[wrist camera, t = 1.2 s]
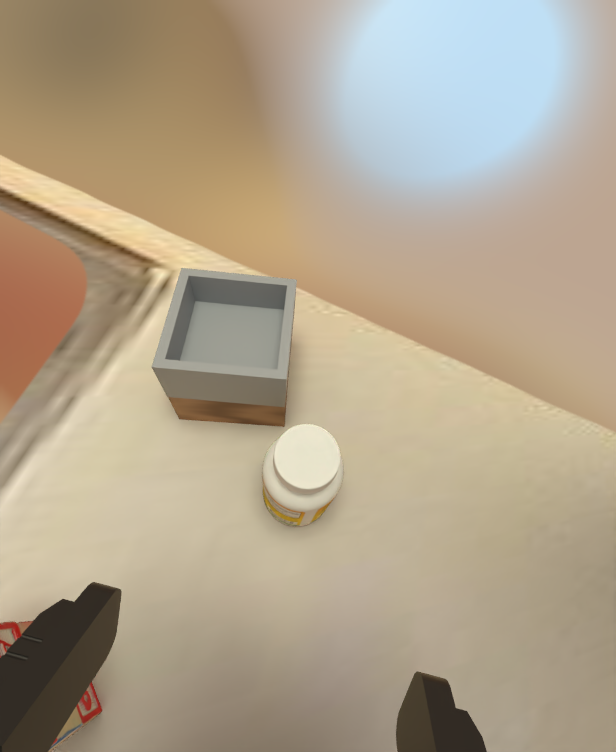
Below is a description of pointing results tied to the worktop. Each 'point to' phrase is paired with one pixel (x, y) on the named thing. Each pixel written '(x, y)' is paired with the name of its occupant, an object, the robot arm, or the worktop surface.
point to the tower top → (227, 338)
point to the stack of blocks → (88, 706)
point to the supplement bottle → (301, 474)
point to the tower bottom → (229, 412)
